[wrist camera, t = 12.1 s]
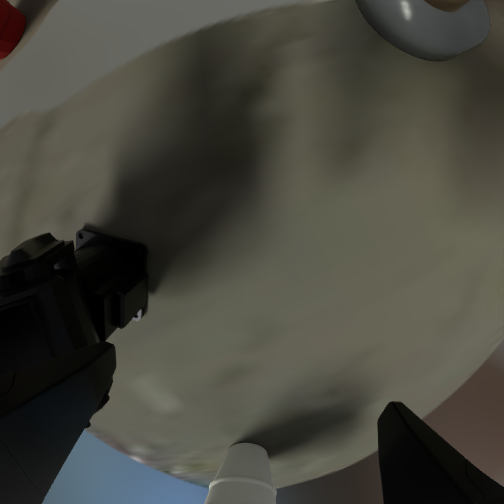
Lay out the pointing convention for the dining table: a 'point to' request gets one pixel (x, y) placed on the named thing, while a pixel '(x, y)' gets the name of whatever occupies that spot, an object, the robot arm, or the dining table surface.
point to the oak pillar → (447, 4)
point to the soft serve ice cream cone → (243, 477)
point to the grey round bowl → (428, 26)
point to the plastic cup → (10, 27)
